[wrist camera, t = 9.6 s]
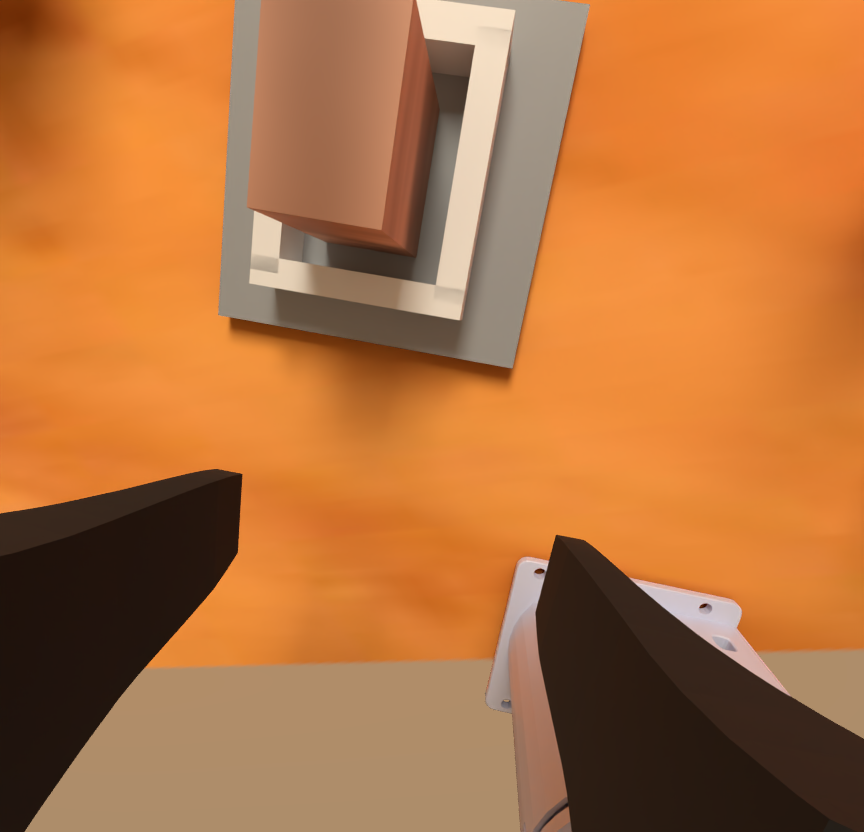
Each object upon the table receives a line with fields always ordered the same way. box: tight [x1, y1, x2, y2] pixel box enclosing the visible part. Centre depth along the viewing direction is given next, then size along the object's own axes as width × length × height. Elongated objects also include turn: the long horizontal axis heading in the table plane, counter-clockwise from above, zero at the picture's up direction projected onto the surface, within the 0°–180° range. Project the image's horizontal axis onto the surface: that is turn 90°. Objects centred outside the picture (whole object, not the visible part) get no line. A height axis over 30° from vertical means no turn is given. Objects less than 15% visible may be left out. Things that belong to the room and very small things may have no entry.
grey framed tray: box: [218, 0, 590, 368], centre depth 16 cm, size 12×12×3 cm
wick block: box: [247, 0, 440, 258], centre depth 14 cm, size 4×5×6 cm
